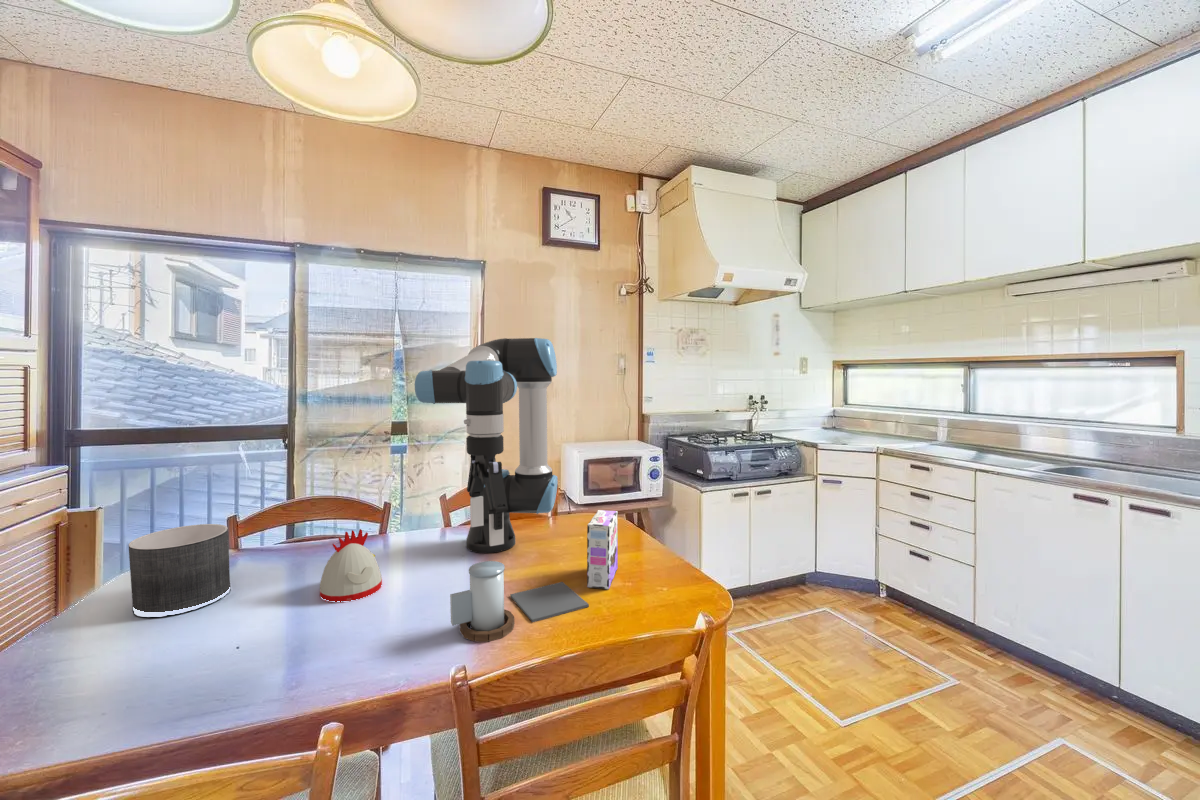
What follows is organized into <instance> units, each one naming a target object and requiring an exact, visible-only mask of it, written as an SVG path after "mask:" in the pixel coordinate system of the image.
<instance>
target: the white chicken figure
mask: <svg viewBox="0 0 1200 800" xmlns="http://www.w3.org/2000/svg"><path fill="white" fill-rule="evenodd" d="M368 535H369V533H368V532H367V531H366V532H365V534H364V535H363V530H362V529H361V528H360V529H359V530H358V533H357V537H356V533H355V531H354V530H353V529H351V534H350V535H349V533H348V531H345V532H344V539H342V538H341V537H338V541H339V546H337V545H336V544H334V543H332V546H333V549H334V550H335V551H334V552H333V554H332V555H331V556H330V557H329V559H328V560H327V562H326V564H325V566H324V569H323V572H322V576H321V577H320V578H321V579H320V582H319V583H320V584H319V597H320V596H321V597H322V598H323V599H326V600H329V601H335V602H337V601H340V603H342V602H341V601H349V602H352V601H351V600H355V601H357V600H356V599H358V600H361V599H360V598H362V599H364V598H363V597H365V598H367V597H369V596H368V595H370V596H371V594H372V595H374V594H375V593H377V592H378V591H379V590H380V589H381V588H382V586H381V585H383V579H382V578H383V577H382V573H381V570H380V567H379V565H378V562H377V559H376V555H375V554H374V553H373V552H371V551H370V550H369V549H368V548H367V547H366V546H364V545H365V543H366V540H367V539H368ZM376 591H377V592H376ZM373 593H374V594H373ZM366 596H367V597H366Z"/></svg>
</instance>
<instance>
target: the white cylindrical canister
mask: <svg viewBox="0 0 1200 800" xmlns="http://www.w3.org/2000/svg"><path fill="white" fill-rule="evenodd" d="M505 570H506V569H505V564H504V563H502V562H500V561H495V560H485V561H481V562H477V563H475V564H472V565H471V566H470V567H468V574H469V589H468V590H464V591H458V592H454V593H450V596H449V597H450V599H449V600H450V602H449V603H450V624H451V626H458V625H460V624H462V623H465V622H469V621H471V624H470V629H472V630H475V631H491V630H495V629H498V628H500V627H502V626H503V625H505V619H504V609H505V586H504V585H505V584H504V583H505V581H504V580H505V579H504V578H505V576H504V575H505V573H504V571H505Z"/></svg>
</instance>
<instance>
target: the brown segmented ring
mask: <svg viewBox="0 0 1200 800" xmlns="http://www.w3.org/2000/svg"><path fill="white" fill-rule="evenodd" d="M504 621H506V623H504V625H503V626H502V627H500V628H498V629H495V630H491V631H475V630H472V629H471V628H470V627H469V626H470V625H471V621H469V622H465V623H462V624H459V631H460V634H461V636H462V637H463V638H464V639H467V640H469V641H471V642H475V643H476V642H477V643H479V642H480V643H481V642H482V643H483V642H484V643H485V642H486V643H487V642H492V641H496V640H499V639H503V638H504V637H506V636H507V635H509V634H511V632H513V630H514V626H515V624H516V623H515V615H513V613H512V611H510V610H507V609H505V608H504Z"/></svg>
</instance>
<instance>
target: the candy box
mask: <svg viewBox="0 0 1200 800" xmlns="http://www.w3.org/2000/svg"><path fill="white" fill-rule="evenodd" d="M586 528H587V529H586V532H587V536H586V544H587V545H586V550H587V551H586V553H587V554H586V560H587V561H586V564H587V565H586V567H587V568H586V570H587V571H586V579H587V580H586V584H587V585H586V587H587V588H591V589H592V588H593V589H602V590H609V589H610V588H611V585H612V582H613V581H614V578H615V575H616V572H617V570H618V569H619V568H618V564H619V563H618V560H619V559H618V557H619V556H618V553H619V552H618V550H619V549H618V547H619V546H618V539H619V538H618V537H619V536H618V530H619V529H618V510H607V509H606V510H603V509H598V510H597V511H596V513H595V514H594V515H593V516H592V518H591V519H590V521H589V522H588V523H587V527H586Z"/></svg>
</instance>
